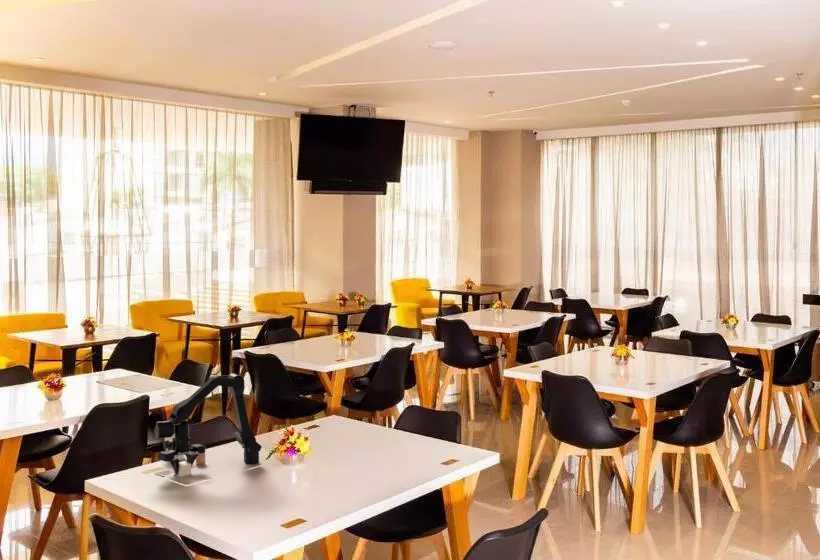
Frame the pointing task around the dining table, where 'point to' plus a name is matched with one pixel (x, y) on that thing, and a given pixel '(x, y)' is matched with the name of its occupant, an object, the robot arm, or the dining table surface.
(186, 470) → the die
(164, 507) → the dining table surface
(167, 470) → the track
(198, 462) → the pawn
